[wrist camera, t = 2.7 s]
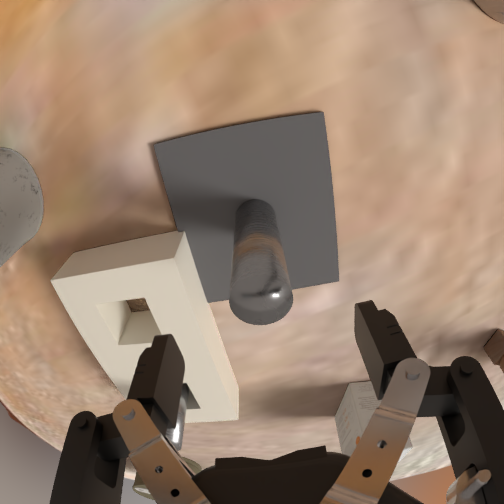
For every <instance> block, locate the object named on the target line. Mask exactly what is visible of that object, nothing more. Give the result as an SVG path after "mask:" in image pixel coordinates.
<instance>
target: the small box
mask: <svg viewBox="0 0 504 504" xmlns="http://www.w3.org/2000/svg"><path fill="white" fill-rule="evenodd" d="M381 401H382V400H377V397H376V394H375V391H374V388H373V385H372V383H371V381H367V382H355V383H349V385H348V387H347V390H346V392H345V394H344V397H343V399H342V401H341V404H340V406H339V408H338V411H337V413H336V415H335V421H336V426H337V431H338V436H339V441H340V446H341V451H342V454H345V455H348V456H350V457H351V455H352V453H353V451H354V450H355V448H356V446H357V444H358V442H359V440H360V438H361V437H362V435H363V433H364V431H365V429H366V427H367V425H368V423H369V421H370V419H371V417H372V415H373V413H374V411H375V409H376V408H378V407H379V405H380V403H381ZM412 447H413V446H412V443H411V440H410V437H408V440H407V442H406V445H405V447H404V449H403V452H402V454H401V456H400V459H399V461H400V460H401V459H402V458H403V457H404V456H405V455H406V454H407V453H408V452H409V451H410V450H411V449H412ZM399 461H398V463H399ZM398 463H397V464H398Z"/></svg>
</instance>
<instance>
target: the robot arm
mask: <svg viewBox="0 0 504 504" xmlns="http://www.w3.org/2000/svg"><path fill="white" fill-rule="evenodd" d="M474 1H475V3H476V4H477V5H478V6H479V7H480V8H481V9H482V10H483V11H484V12H485V13H486V14H487V15H489V16H490V17H492V18H493V19H494V20H496V21H498V22H500V23H503V24H504V0H474ZM354 330H355V338H356V342H357V345H358V347H359V350H360V353H361V355H362V358H363V361H364V363H365V366H366V369H367V372H368V374H369V377H370V380H371V383H372V385H373V388H374V391H375V394H376V397H377V400H382V401H381V403H380V405H379V407H378V408H376V409H375V411H374V413H373V415H372V417H371V419H370V421H369V423H368V425H367V427H366V429H365V431H364V433H363V435H362V437H361V438H360V440H359V442H358V444H357V446H356V448H355V450H354V451H353V453H352V455H351V457H350V456H348V455H345V454H341V453H336V452H326V446H320V447H314V448H309V449H303V450H297V451H295V452H292V453H289V454H287V455H284V456H281V457H279V458H276V459H273V460H262V459H254V458H246V457H233V458H216V459H215V465H214V466H211V467H209V468H206V469H204V470H202V471H200V472H199V473H197V474H195V473H194V472H193V471H192V469H191V468H190V467H189V466H188V465H187V463H186V462H185V461H184V459H183V458H182V457H181V455H180V454H179V453H178V451H177V450H176V449H175V447H174V446H173V444H172V443H171V442H170V440H169V439H168V437H167V436H166V431H167V429H172V428H176V423H177V417H178V410H179V403H180V397H181V391H182V385H183V379H184V373H185V362H184V358H183V355H182V353H181V351H180V349H179V347H178V345H177V343H176V341H175V339H174V336H173V335H172V334H164V335H156V336H154V339H153V342H152V345H151V347H147V348H146V349H145V350H144V351H143V352H142V354H141V355H140V357H139V360H138V363H137V367H136V369H135V374H134V376H133V379H132V382H131V386H130V389H129V393H128V396H127V399H126V400H124V401H122V402H121V403H119V404H118V405H117V406H116V407H115V409H114V411H113V413H111V414H107V415H104V416H100V417H96V416H95V415H94V414H93V413H92V412H90V411H83V412H80V413H78V414H77V415H75V416H74V417H73V419H72V420H71V423H70V426H69V429H68V432H67V436H66V439H65V443H64V446H63V450H62V454H61V457H60V461H59V466H58V469H57V473H56V477H55V481H54V485H53V490H52V495H51V500H50V504H120V502H121V494H122V486H123V479H124V472H125V465H126V458H127V457H129V458H130V460H131V462H132V463H133V465H134V467H135V469H136V470H137V472H138V474H139V476H140V477H141V479H142V481H143V482H144V484H145V486H146V487H147V489H148V491H149V492H150V494H151V495H152V497H153V498H154V500H155V501H156V503H157V504H423V503H422V502H420V501H418V500H417V499H415V498H414V497H412V496H410V495H409V494H407V493H406V492H404V491H403V490H401V489H399V488H398V487H396V486H395V485H393V484H392V483H390V482H389V480H390V478H391V476H392V474H393V472H394V469H395V467H396V465H397V463H398V461H399V459H400V456H401V454H402V452H403V449H404V447H405V445H406V442H407V440H408V437H409V435H410V432H411V430H412V427H413V425H414V422H415V419H416V417H433V416H436V418H437V421H438V424H439V427H440V430H441V433H442V436H443V439H444V442H445V445H446V448H447V451H448V454H449V457H450V460H451V464H452V467H453V470H454V474H455V477H456V481H454V482H453V483H452V484H451V486H450V487H449V489H448V491H447V495H446V500H447V504H504V410H503V408H502V405H501V403H500V401H499V399H498V397H497V395H496V393H495V391H494V389H493V387H492V385H491V383H490V381H489V380H488V378H487V376H486V374H485V372H484V370H483V368H482V366H481V365H480V363H479V362H478V361H477V360H476V359H474V358H472V357H468V356H462V357H459V358H456V359H455V360H454V361H453V362H452V364H451V366H444V367H432V366H428V364H427V363H426V362H424V361H423V360H421V359H418V358H417V357H416V355H415V353H414V351H413V349H412V348H411V346H410V344H409V342H408V340H407V338H406V336H405V335H404V333H403V332H402V329H401V327H400V326H399V324H398V322H397V320H396V318H395V316H394V315H393V314H391V313H390V312H389V311H387V310H386V309H383V310H379V311H378V310H377V308H376V306H375V304H374V302H373V301H372V300H370V301H365V302H361V303H356V304H355V327H354Z"/></svg>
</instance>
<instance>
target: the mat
mask: <svg viewBox="0 0 504 504" xmlns="http://www.w3.org/2000/svg"><path fill="white" fill-rule="evenodd" d="M154 149H155V152H156V156H157V160H158V164H159V167H160V171H161V174H162V178H163V182H164V185H165V189H166V192H167V196H168V199H169V202H170V206H171V209H172V213H173V216H174V219H175V222H176V226H177V229H178V232H183V231H185V234H186V237H187V241H188V244H189V247H190V250H191V254H192V257H193V260H194V263H195V266H196V269H197V272H198V276H199V279H200V282H201V285H202V288H203V291H204V294H205V297H206V300H207V303H210V302H217V301H224V300H229V296H230V281H231V267H232V253H233V240H234V227H235V215H236V211H237V209H238V208H239V206H240V205H241V204H242V203H244V202H246V201H248V200H251V199H260V200H264V201H266V202H267V203H269V204H270V205H271V206H272V207H273V209H274V211H275V215H276V219H277V224H278V228H279V233H280V237H281V242H282V247H283V251H284V256H285V261H286V266H287V270H288V275H289V280H290V285H291V290H292V289H298V288H304V287H309V286H315V285H321V284H326V283H331V282H337V281H339V268H338V249H337V234H336V220H335V207H334V196H333V185H332V176H331V166H330V158H329V149H328V141H327V133H326V126H325V119H324V112H316V113H308V114H300V115H293V116H286V117H279V118H273V119H266V120H260V121H255V122H249V123H244V124H238V125H233V126H228V127H223V128H219V129H214V130H209V131H205V132H200V133H196V134H192V135H188V136H184V137H180V138H176V139H172V140H168V141H164V142H160V143H157V144H154Z"/></svg>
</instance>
